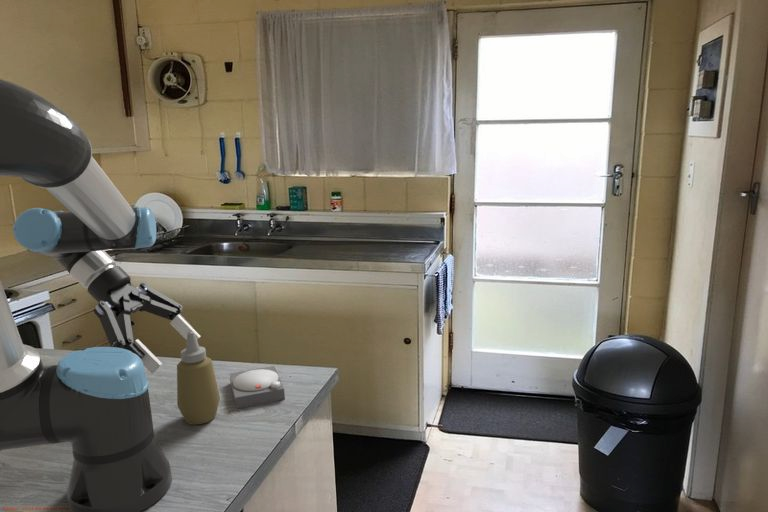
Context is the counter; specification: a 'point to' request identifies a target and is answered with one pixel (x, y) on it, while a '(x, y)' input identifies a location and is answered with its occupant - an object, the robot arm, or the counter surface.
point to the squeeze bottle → (196, 384)
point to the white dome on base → (256, 386)
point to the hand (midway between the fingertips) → (178, 354)
